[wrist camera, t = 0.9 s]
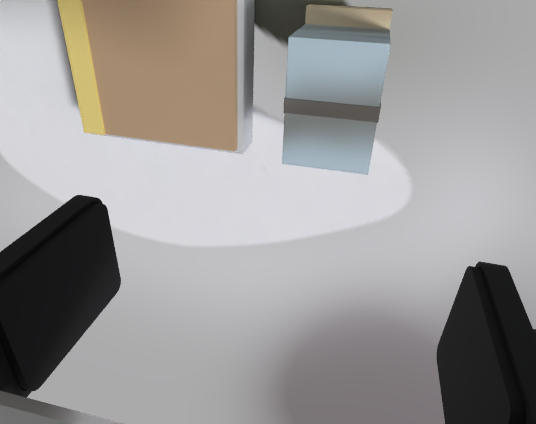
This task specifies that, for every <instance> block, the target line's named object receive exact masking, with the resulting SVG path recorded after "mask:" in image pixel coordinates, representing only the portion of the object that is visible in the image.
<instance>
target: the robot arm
mask: <svg viewBox="0 0 536 424" xmlns="http://www.w3.org/2000/svg"><path fill="white" fill-rule="evenodd" d="M120 284H121V278H120V273H119V268H118V263H117V257H116V252H115V247H114V242H113V237H112V231H111V226H110V220H109V215H108V210H107V207H106V206H105V205H104V204H102V201H101V200H100V199H98V198H95V197H89V196H83V195H77V196H75V197H73V198H72V199H70V200H69V201H68V202H66V203H65V204H64V205H62V206H61V207H60V208H58V209H57V210H56V211H54V212H53V213H52V214H51V215H49V216H48V217H46V218H45V219H44V220H42V221H41V222H40V223H38V224H37V225H36V226H34V227H33V228H32V229H30V230H29V231H28V232H26V233H25V234H24V235H22V236H21V237H20V238H18V239H17V240H16V241H14V242H13V243H12V244H10V245H9V246H8V247H6V248H5V249H4V250H2V251H1V252H0V424H123V423H119V422H115V421H111V420H108V419H104V418H101V417H96V416H93V415H89V414H86V413H82V412H78V411H74V410H70V409H67V408H63V407H59V406H56V405H52V404H48V403H44V402H40V401H37V400H33V399H29V398H27V396H28V395H29V394H30V393H31V391H35V390H37V389H39V388H40V387H41V385H42V384H43V383H44V382H45V381H46V379H47V378H48V377H49V376H50V374H51V373H52V372H53V371H54V370H55V368H56V367H57V366H58V365H59V363H60V362H61V361H62V360H63V358H64V357H65V356H66V355H67V353H68V352H69V351H70V350H71V349H72V347H73V346H74V345H75V344H76V342H77V341H78V340H79V339H80V338H81V336H82V335H83V334H84V333H85V331H86V330H87V329H88V328H89V327H90V325H91V324H92V323H93V322H94V320H95V319H96V318H97V317H98V315H99V314H100V313H101V312H102V311H103V309H104V308H105V307H106V306H107V304H108V303H109V302H110V300H111V299H112V298H113V297H114V296H115V294H116V293H117V292H118V290H119V288H120ZM437 365H438V372H439V380H440V386H441V395H442V402H443V410H444V418H445V424H536V330H535V329H533V328H532V326H531V324H530V321H529V319H528V316H527V314H526V311H525V309H524V306H523V304H522V301H521V299H520V297H519V294H518V292H517V289H516V287H515V284H514V282H513V279H512V277H511V274H510V272H509V270H508V268H507V267H506V266H502V265H497V264H491V263H485V262H478V263H477V264H476V266H475V267H471V266H469V267H468V268H467V269H466V271H465V274H464V277H463V279H462V282H461V285H460V287H459V290H458V293H457V295H456V298H455V301H454V304H453V306H452V309H451V312H450V315H449V317H448V320H447V322H446V325H445V328H444V330H443V334H442V336H441V338H440V341H439V344H438V348H437Z"/></svg>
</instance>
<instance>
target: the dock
mask: <svg viewBox="0 0 536 424" xmlns="http://www.w3.org/2000/svg"><path fill="white" fill-rule="evenodd" d="M57 2H58V7H59V12H60V17H61V22H62V26H63V31H64V36H65V41H66V46H67V51H68V56H69V61H70V65H71V70H72V75H73V80H74V85H75V90H76V95H77V100H78V104H79V109H80V114H81V119H82V124H83V129H84V132H85V133H90V134H97V135H104V136H111V137H119V138H126V139H134V140H141V141H149V142H156V143H164V144H171V145H179V146H186V147H194V148H201V149H209V150H216V151H223V152H231V153H238V154H244V152H245V151H246V149H247V148H248V147H249V145H250V144H251V143H252V121H253V67H254V14H255V0H57Z"/></svg>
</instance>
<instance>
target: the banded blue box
mask: <svg viewBox="0 0 536 424" xmlns="http://www.w3.org/2000/svg"><path fill="white" fill-rule="evenodd" d="M392 11H393V10H392V9H390V8H373V7H372V8H371V7H355V6H333V5H315V4H309V5H307V6H306V18H305V24H304V25H303V26H302V27H301V28H299V29H298V30H297V31H296V32H294V33H293V34H292V35H290V36H289V39H288V59H287V78H286V79H287V80H286V97H285V98H284V113H285V117H284V136H283V156H282V164H288V165H296V166H304V167H311V168H319V169H327V170H335V171H343V172H350V173H358V174H366V175H368V171H369V165H370V160H371V154H372V148H373V142H374V137H375V130H376V125H377V123H378V119H379V113H380V107H381V96H382V90H383V85H384V79H385V73H386V67H387V61H388V56H389V49H390V31H389V28H390V23H391V17H392Z"/></svg>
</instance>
